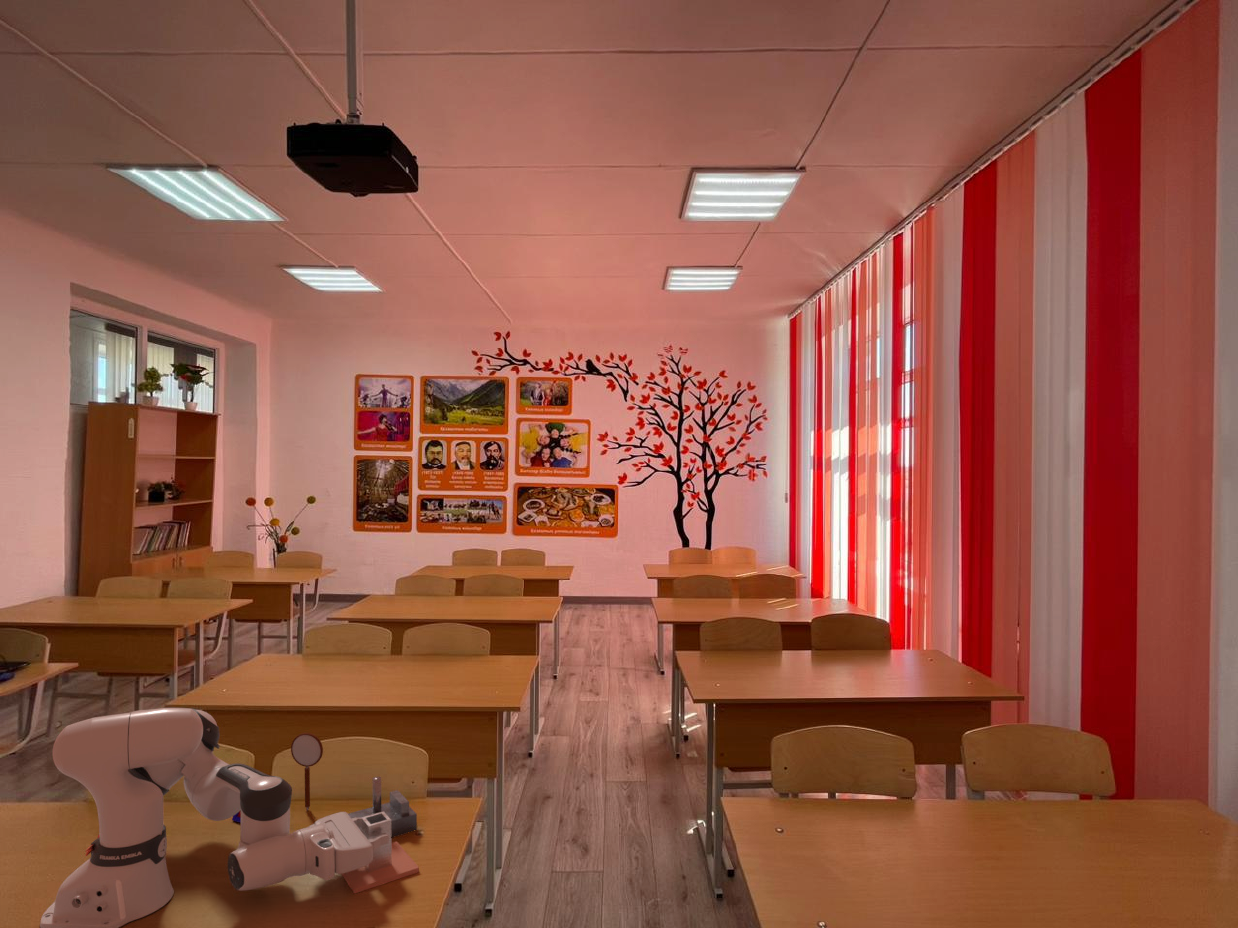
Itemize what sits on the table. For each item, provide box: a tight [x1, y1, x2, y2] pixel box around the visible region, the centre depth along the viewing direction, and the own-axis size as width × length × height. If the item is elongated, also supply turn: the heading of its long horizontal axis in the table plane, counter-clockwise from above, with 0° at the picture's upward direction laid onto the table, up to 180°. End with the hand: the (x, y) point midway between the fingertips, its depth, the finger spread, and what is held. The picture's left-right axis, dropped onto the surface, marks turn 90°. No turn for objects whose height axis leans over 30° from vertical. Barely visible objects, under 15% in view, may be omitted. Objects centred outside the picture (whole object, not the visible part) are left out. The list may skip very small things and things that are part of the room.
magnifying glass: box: [290, 732, 324, 811], centre depth 197 cm, size 9×2×20 cm, turn 81°
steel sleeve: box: [361, 811, 393, 872], centre depth 169 cm, size 5×5×10 cm
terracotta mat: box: [341, 841, 420, 895], centre depth 169 cm, size 14×14×1 cm
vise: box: [347, 776, 418, 838], centre depth 185 cm, size 16×10×13 cm, turn 126°
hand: (380, 828), depth 170 cm, fingers open, 8 cm apart
